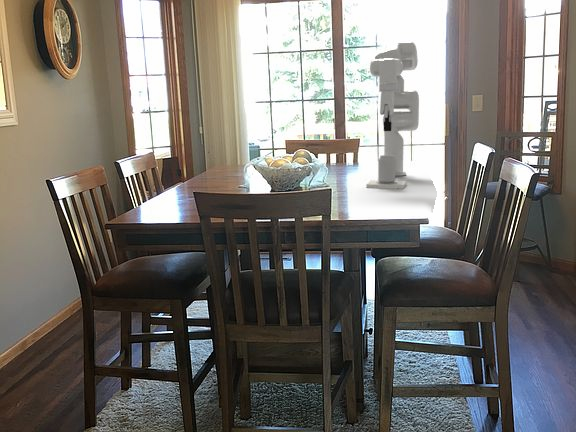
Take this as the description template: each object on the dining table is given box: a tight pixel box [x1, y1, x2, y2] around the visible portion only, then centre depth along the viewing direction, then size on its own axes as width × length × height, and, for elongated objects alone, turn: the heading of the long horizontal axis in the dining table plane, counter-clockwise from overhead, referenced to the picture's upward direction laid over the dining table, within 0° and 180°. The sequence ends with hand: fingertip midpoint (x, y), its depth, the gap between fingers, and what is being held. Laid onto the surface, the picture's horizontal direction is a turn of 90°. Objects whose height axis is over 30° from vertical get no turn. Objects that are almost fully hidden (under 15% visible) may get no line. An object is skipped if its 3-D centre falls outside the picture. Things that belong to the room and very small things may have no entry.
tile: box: [365, 180, 407, 189], centre depth 272 cm, size 13×16×2 cm
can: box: [377, 154, 396, 183], centre depth 270 cm, size 8×8×12 cm
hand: (387, 130), depth 268 cm, fingers closed
